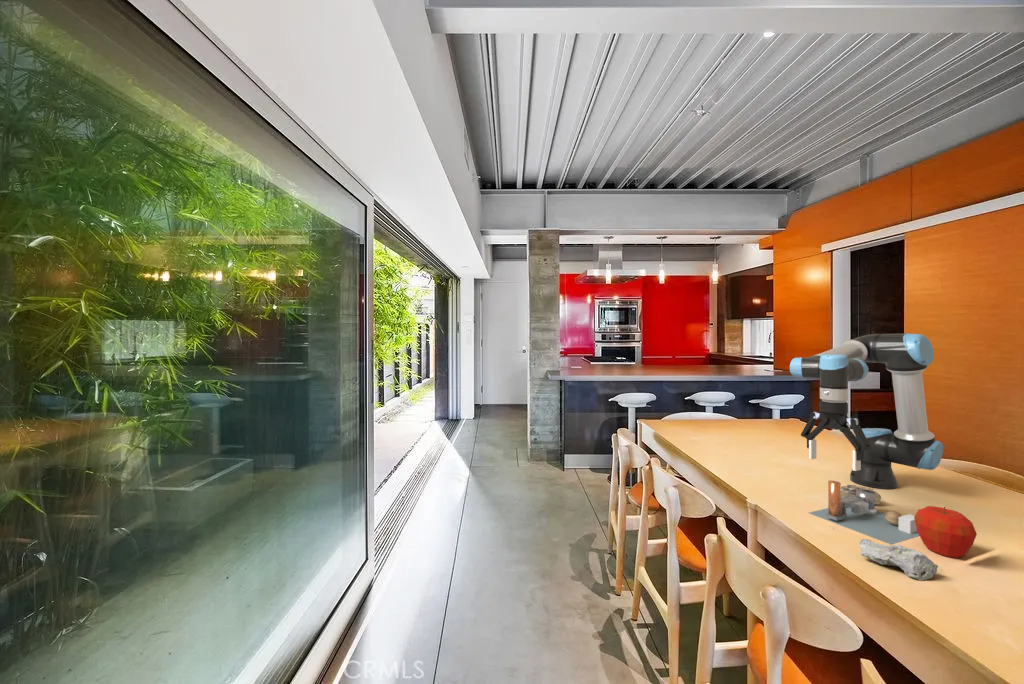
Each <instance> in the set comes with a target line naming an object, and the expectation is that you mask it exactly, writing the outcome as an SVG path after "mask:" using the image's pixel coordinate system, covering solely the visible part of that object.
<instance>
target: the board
mask: <svg viewBox="0 0 1024 684" xmlns="http://www.w3.org/2000/svg"><path fill="white" fill-rule="evenodd" d="M826 513H828V508H823V509H819V510H815V511H810V512H808V514H810V515H812V516H815V517H818V518H820V519H823V520H826V521H828V522H830V523H834V524H835V525H839V526H841V527H844V528H846V529H848V530H852V531H854V532H857V533H859V534H862V535H865V536H868V537H870V538H873V539H875V540H878V541H880V542H883V543H886V544H887V545H888V544H889V545H890V546H893V545H896V544H897V543H901V542H904V541H905V542H906V541H908V540H910V539H914V538H917V537H920V536H919V534H918V532H917V528H916V524H915V519H914V517H915V515H914V514H911V513H909V514H906V515H902V516H901V517H899V525H892V524H890V523H889V522H888V521H887V520H886V518H885V515H886V512H881V511H879V510H877V508H876V507H875V508H874V509H869V512H868V513H865V514H861V515H858V514H856V513H853V512H851V507H850V508H846V514H847V518H845V519H841V520H837V521H836V520H833V519H830V518H828V517H826Z"/></svg>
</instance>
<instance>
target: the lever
mask: <svg viewBox="0 0 1024 684" xmlns="http://www.w3.org/2000/svg"><path fill="white" fill-rule="evenodd" d="M827 487H828V488H827V489H828V491H827V492H828V493H827V494H828V498H827V499H828V502H827V503H828V513H826V517H828V518H830V519H833V520H836V521H837V520H841V519H845V518H847V514H846V508H850V507H851V512H853V513H856V514H858V515H861V514H865V513H868V512H869V509H874V508H876V506H875V505H876V504H875V493H874V492H872V491H868V490H863V489H857V490H856V496H852V497H848V498H844V499H842V498H840V489H841V482H840V481H836V480H828V486H827Z"/></svg>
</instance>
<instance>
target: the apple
mask: <svg viewBox="0 0 1024 684" xmlns="http://www.w3.org/2000/svg"><path fill="white" fill-rule="evenodd" d="M914 516H915V517H914V519H915V524H916V528H917V532H918V534H919V536H918V537H920V539H921V541H922V544H923V545H924V546H925V547H926V548H928V550H929V551H931V552H933V553H935V554H937V555H940V556H942V557H946V558H952V559H955V558H956V559H957V558H961V557H964V556H966V555H967V553H968V552H969V551H970V549H971V548H972V547H973V545H974V543H975V539H976V537H977V535H978V534H977V531H976V529H975V526H974V524H973V522H972V521H971V520H970V519H968V517H967V516H965V515H963V513H961V512H959V511H957V510H953V509H949V508H946V506H943V507H939V506H934V505H931V506H929V505H928V506H926V507H923V508H920V509H918V510H917V511H916V513H915V515H914Z"/></svg>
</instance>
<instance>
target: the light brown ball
mask: <svg viewBox="0 0 1024 684" xmlns="http://www.w3.org/2000/svg"><path fill="white" fill-rule="evenodd" d="M885 514H886V515H885V518H886V520H887V521H888V522H889V523H890V524H892V525H899V517H901V516H903V515H902V514H901V513H900V512H898V511H896V510H889V511H887V512H885Z"/></svg>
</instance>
